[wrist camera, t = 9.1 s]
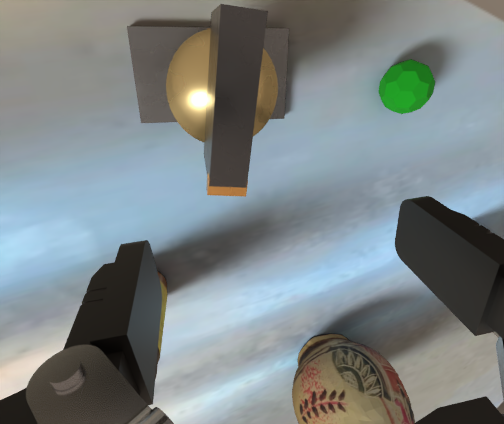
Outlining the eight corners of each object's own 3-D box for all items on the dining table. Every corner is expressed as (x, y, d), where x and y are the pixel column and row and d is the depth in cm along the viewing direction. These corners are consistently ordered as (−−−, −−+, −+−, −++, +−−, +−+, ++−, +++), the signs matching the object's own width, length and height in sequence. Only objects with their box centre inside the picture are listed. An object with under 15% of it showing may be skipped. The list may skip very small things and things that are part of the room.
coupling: (168, 9, 22) (159, -6, 14) (276, 25, 24) (321, 19, 16) (167, 147, 27) (160, 194, 19) (259, 153, 28) (288, 198, 20)
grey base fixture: (286, 28, 31) (311, 26, 25) (281, 116, 34) (302, 133, 28) (128, 26, 28) (113, 23, 22) (142, 120, 32) (132, 140, 26)
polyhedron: (374, 59, 34) (401, 62, 29) (418, 56, 34) (451, 59, 30) (368, 110, 36) (392, 119, 32) (409, 106, 37) (438, 115, 32)
